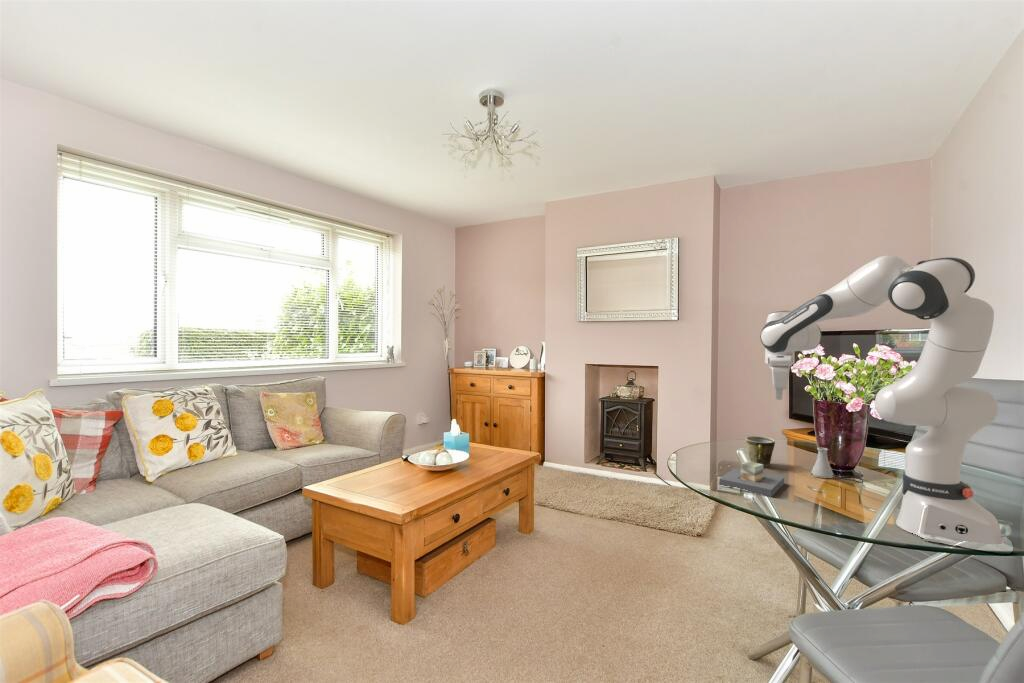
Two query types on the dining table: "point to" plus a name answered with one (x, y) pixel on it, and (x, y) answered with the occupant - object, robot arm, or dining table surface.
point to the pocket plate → (753, 483)
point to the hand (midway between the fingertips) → (778, 399)
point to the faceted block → (752, 471)
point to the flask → (822, 465)
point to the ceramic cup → (760, 449)
